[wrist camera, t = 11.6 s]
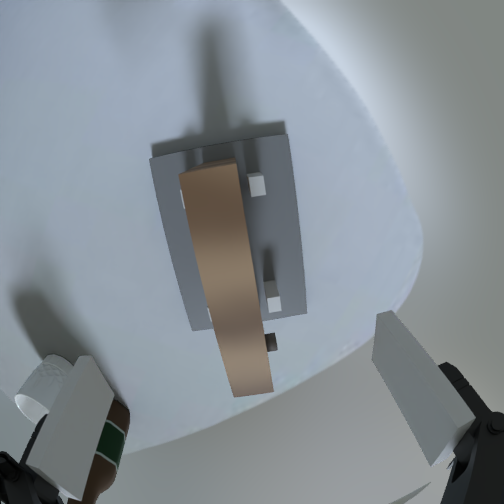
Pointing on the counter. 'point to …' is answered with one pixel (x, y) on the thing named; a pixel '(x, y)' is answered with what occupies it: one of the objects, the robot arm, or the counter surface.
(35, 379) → the white cup
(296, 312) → the board
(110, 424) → the beer bottle
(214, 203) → the brown wooden board
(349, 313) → the counter surface
